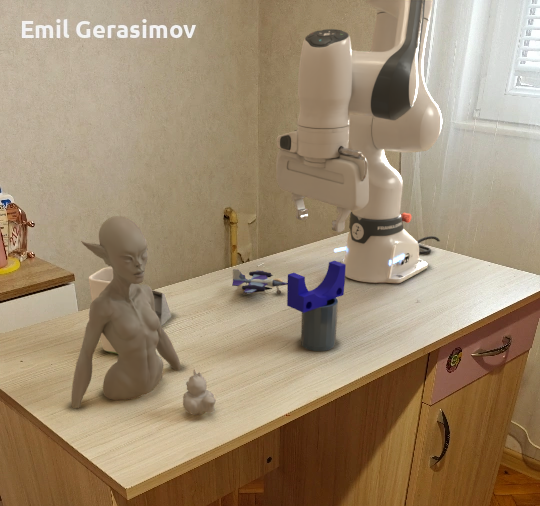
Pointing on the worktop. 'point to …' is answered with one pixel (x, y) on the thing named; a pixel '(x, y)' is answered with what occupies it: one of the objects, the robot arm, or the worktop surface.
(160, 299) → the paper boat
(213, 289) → the worktop surface
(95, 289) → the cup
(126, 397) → the elf figurine
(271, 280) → the toy airplane
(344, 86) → the robot arm
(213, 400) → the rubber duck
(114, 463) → the worktop surface
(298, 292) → the blue half clamp bracket
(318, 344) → the tumbler
